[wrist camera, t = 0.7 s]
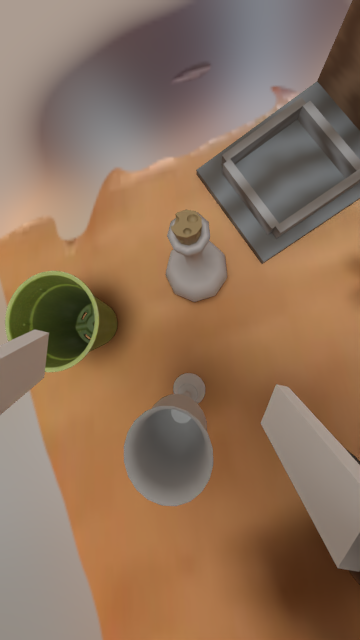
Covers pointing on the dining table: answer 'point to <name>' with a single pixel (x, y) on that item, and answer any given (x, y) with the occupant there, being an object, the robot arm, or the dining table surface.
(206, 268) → the potion bottle
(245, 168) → the ledge nook
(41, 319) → the plant pot
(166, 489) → the chalice
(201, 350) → the dining table surface
